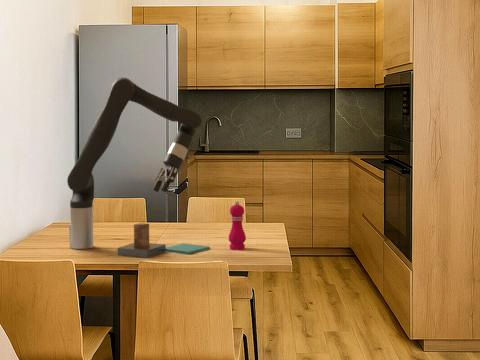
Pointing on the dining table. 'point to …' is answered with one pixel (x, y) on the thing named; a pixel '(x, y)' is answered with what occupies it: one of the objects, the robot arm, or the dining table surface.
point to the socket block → (142, 250)
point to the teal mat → (186, 248)
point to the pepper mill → (237, 228)
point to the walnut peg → (141, 235)
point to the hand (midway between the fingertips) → (159, 191)
